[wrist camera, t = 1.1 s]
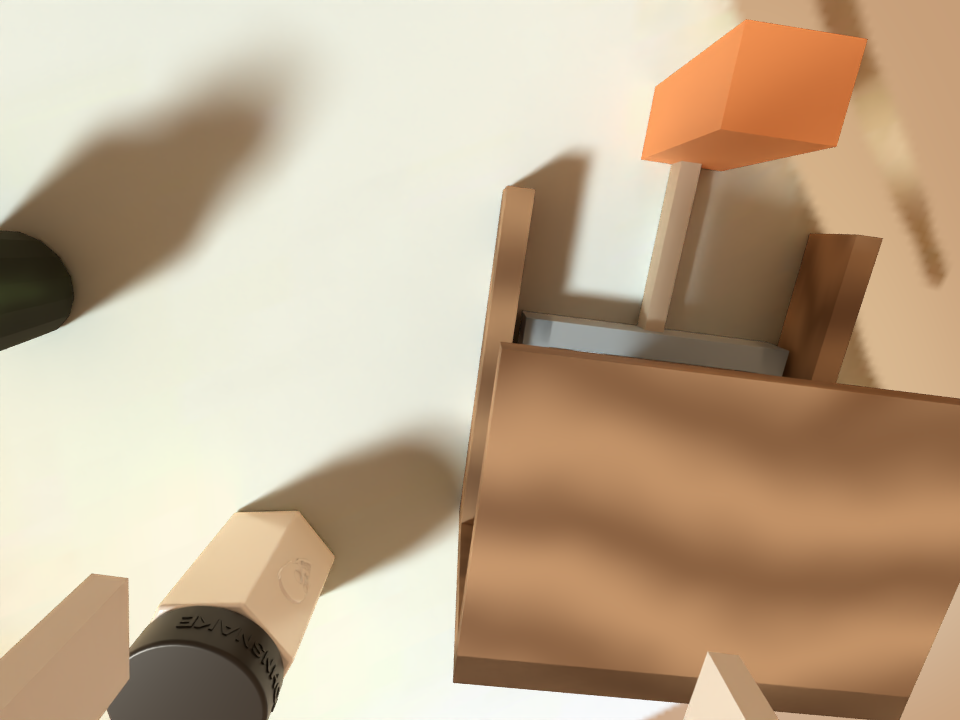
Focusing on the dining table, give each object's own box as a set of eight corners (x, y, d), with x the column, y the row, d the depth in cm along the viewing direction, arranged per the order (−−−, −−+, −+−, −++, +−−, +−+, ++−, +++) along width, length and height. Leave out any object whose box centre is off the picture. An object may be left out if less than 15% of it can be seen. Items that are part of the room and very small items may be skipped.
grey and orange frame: (559, 72, 29) (603, -4, 20) (831, 113, 30) (1002, 60, 20) (495, 486, 36) (504, 582, 26) (718, 511, 37) (807, 613, 27)
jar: (355, 576, 38) (305, 732, 26) (267, 624, 39) (180, 796, 27) (282, 483, 36) (191, 608, 24) (191, 537, 37) (61, 682, 25)
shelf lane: (503, 190, 31) (529, 162, 17) (832, 236, 32) (1106, 245, 18) (459, 510, 36) (452, 682, 23) (741, 540, 37) (898, 722, 24)
